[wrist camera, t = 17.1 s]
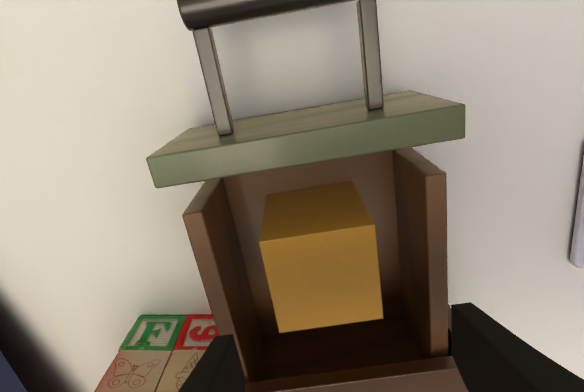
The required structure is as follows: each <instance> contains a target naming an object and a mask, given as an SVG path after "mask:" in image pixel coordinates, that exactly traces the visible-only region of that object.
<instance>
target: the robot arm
mask: <svg viewBox="0 0 584 392" xmlns="http://www.w3.org/2000/svg"><path fill="white" fill-rule="evenodd" d="M570 262H571V263H572V264H573V265H574V266H576V267H578V268H582V267H584V157H583V165H582V172H581V180H580V187H579V195H578V202H577V210H576V217H575V225H574V232H573V240H572V247H571V255H570ZM451 354H452V356H453V358H454V361H455V363H456V366H457V368H458V370H459V373H460V375H461V377H462V379H463V382H464V384H465V386H466V388H467V390H468V391H469V392H584V380H583V379H582V378H580V377H578V376H577V375H575V374H573V373H572V372H570V371H568V370H567V369H565V368H564V367H562V366H561V365H559V364H557V363H556V362H554V361H553V360H551V359H549V358H548V357H546V356H545V355H543V354H542V353H540V352H539V351H537V350H536V349H534V348H533V347H532V346H530V345H529V344H527V343H526V342H524V341H523V340H521V339H520V338H519V337H517V336H516V335H514V334H513V333H512V332H510V331H509V330H507V329H506V328H505V327H503V326H502V325H501V324H499V323H498V322H497V321H495V320H494V319H492V318H491V317H490V316H488V315H487V314H486V313H484V312H483V311H482V310H480V309H479V308H478V307H476V306H475V305H474V304H472V303H471V302H470V303H463V304H455V305H451ZM245 383H246V379H245V375H244V372H243V368H242V365H241V361H240V357H239V354H238V350H237V347H236V343H235V340H234V336H233V334H229V335H222V336H215V337H214V338H213V340H212V341H211V343H210V344H209V346H208V347H207V349H206V351H205V352H204V354H203V355H202V357H201V358H200V360H199V361H198V363H197V364H196V366H195V367H194V369H193V370H192V372H191V373H190V375H189V376H188V378H187V379H186V381H185V382H184V383H183V385H182V386H181V388H180V389H179V391H178V392H245Z"/></svg>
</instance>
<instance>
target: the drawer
mask: <svg viewBox="0 0 584 392" xmlns="http://www.w3.org/2000/svg"><path fill="white" fill-rule="evenodd" d="M350 1H355V0H177V4H178V8H179V12H180V15H181V18H182V20H183V22H184V24H185V26H186V28H187V29H188V30H189V31H193V35H194V39H195V43H196V47H197V51H198V55H199V59H200V64H201V68H202V72H203V76H204V80H205V84H206V88H207V92H208V96H209V100H210V104H211V109H212V113H213V117H214V121H215V124H213V125H207V126H202V127H196V128H190V129H188V130H186V131H185V132H184V133H182V134H181V135H179V136H178V137H176V138H175V139H173V140H172V141H170V142H169V143H167V144H166V145H165V146H163V147H162V148H160V149H159V150H157V151H156V152H154V153H153V154H151V155H150V156H149V157H147V158H146V160H147V163H148V166H149V169H150V172H151V176H152V179H153V182H154V185H155V187H156V188H163V187H169V186H175V185H181V184H187V183H194V182H200V181H205V183H204V184H203V186H202V187H201V189H200V190H199V191H198V193H197V194H196V196H195V197H194V199H193V200H192V202H191V203H190V204H189V206H188V207H187V209H186V210H185V212H184V213H183V215H182V216H183V220H184V223H185V226H186V229H187V233H188V236H189V239H190V243H191V246H192V249H193V252H194V256H195V259H196V262H197V265H198V269H199V272H200V275H201V278H202V282H203V285H204V288H205V292H206V295H207V298H208V301H209V305H210V308H211V311H212V314H213V318H214V321H215V324H216V328H217V331H218V334H219V336H222V335H229V334H233V336H234V340H235V343H236V347H237V350H238V354H239V357H240V361H241V365H242V368H243V372H244V375H245V379H246V383H248V382H255V381H263V380H270V379H278V378H286V377H293V376H301V375H309V374H316V373H324V372H331V371H339V370H347V369H354V368H362V367H369V366H377V365H385V364H392V363H400V362H407V361H415V360H423V359H430V358H438V357H445V356H448V288H447V195H446V173H445V172H444V171H442V170H441V169H440V168H438V167H437V166H435V165H434V164H433V163H431V162H430V161H429V160H427V159H426V158H424V157H423V156H422V155H420V154H419V153H417V152H416V151H415V150H413V149H412V148H411V147H414V146H420V145H426V144H432V143H438V142H445V141H451V140H457V139H463V138H465V104H461V103H457V102H453V101H449V100H445V99H441V98H438V97H434V96H430V95H426V94H422V93H418V92H414V91H405V92H400V93H394V94H388V95H383V88H382V75H381V61H380V47H379V33H378V19H377V5H376V0H358V1H357V13H358V24H359V35H360V46H361V57H362V68H363V79H364V91H365V99H359V100H353V101H347V102H341V103H336V104H330V105H324V106H318V107H312V108H306V109H301V110H295V111H289V112H283V113H277V114H271V115H266V116H260V117H254V118H248V119H242V120H237V121H232V117H231V113H230V108H229V104H228V99H227V95H226V91H225V86H224V82H223V77H222V73H221V69H220V64H219V60H218V55H217V51H216V46H215V42H214V38H213V33H212V29H211V27H216V26H221V25H227V24H232V23H237V22H243V21H248V20H253V19H259V18H264V17H270V16H275V15H280V14H286V13H291V12H296V11H302V10H307V9H312V8H318V7H323V6H328V5H334V4H339V3H345V2H350ZM346 182H353V184H354V186H355V187H356V189H357V191H358V193H359V195H360V197H361V199H362V201H363V203H364V205H365V207H366V209H367V211H368V212H369V214H370V216H371V218H372V220H373V222H374V224H375V231H376V242H377V252H378V263H379V274H380V285H381V296H382V307H383V319H376V320H369V321H362V322H355V323H348V324H340V325H333V326H326V327H319V328H311V329H304V330H297V331H290V332H282V333H280V332H279V329H278V325H277V321H276V316H275V312H274V307H273V303H272V299H271V294H270V290H269V285H268V281H267V277H266V272H265V268H264V263H263V259H262V255H261V250H260V246H259V238H260V232H261V226H262V220H263V214H264V208H265V202H266V196H267V195H271V194H277V193H283V192H289V191H296V190H302V189H308V188H314V187H321V186H327V185H333V184H339V183H346Z"/></svg>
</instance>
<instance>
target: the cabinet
mask: <svg viewBox="0 0 584 392" xmlns="http://www.w3.org/2000/svg"><path fill="white" fill-rule="evenodd" d="M245 392H469V391H468V390H467V388H466V386H465V384H464V382H463V379H462V377H461V375H460V373H459V370H458V368H457V366H456V363H455V361H454V358H453V356H452V354H451V308H450V306H449V305H448V356H445V357H438V358H430V359H423V360H415V361H407V362H400V363H392V364H385V365H377V366H369V367H362V368H354V369H347V370H339V371H331V372H324V373H316V374H309V375H301V376H293V377H286V378H278V379H270V380H263V381H255V382H248V383H245Z"/></svg>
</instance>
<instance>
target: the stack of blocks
mask: <svg viewBox="0 0 584 392" xmlns="http://www.w3.org/2000/svg"><path fill="white" fill-rule="evenodd" d="M215 336H219V334H218V331H217V328H216V324H215V321H214V318H213V315H188V316H176V315H141V316H139V317H138V319H137V321H136V322H135V324H134V325H133V327H132V329H131V330H130V331H129V333H128V335H127V336H126V338H125V340H124V341H123V343H122V345H121V346H120V348H119V350H118V352H119V353H118V354H117V355H116V357H115V359H114V360H113V362H112V363H111V365H110V367H109V368H108V370H107V371H106V373H105V375H104V376H103V378H102V379H101V381H100V383H99V385H98V386H97V388H96V390H95V391H94V392H178V391H179V389H180V388H181V386H182V385H183V383H184V382H185V381H186V379H187V378H188V376H189V375H190V373H191V372H192V370H193V369H194V367H195V366H196V364H197V363H198V361H199V360H200V358H201V357H202V355H203V354H204V352H205V351H206V349H207V347H208V346H209V344H210V343H211V341H212V340H213V338H214V337H215Z"/></svg>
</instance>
